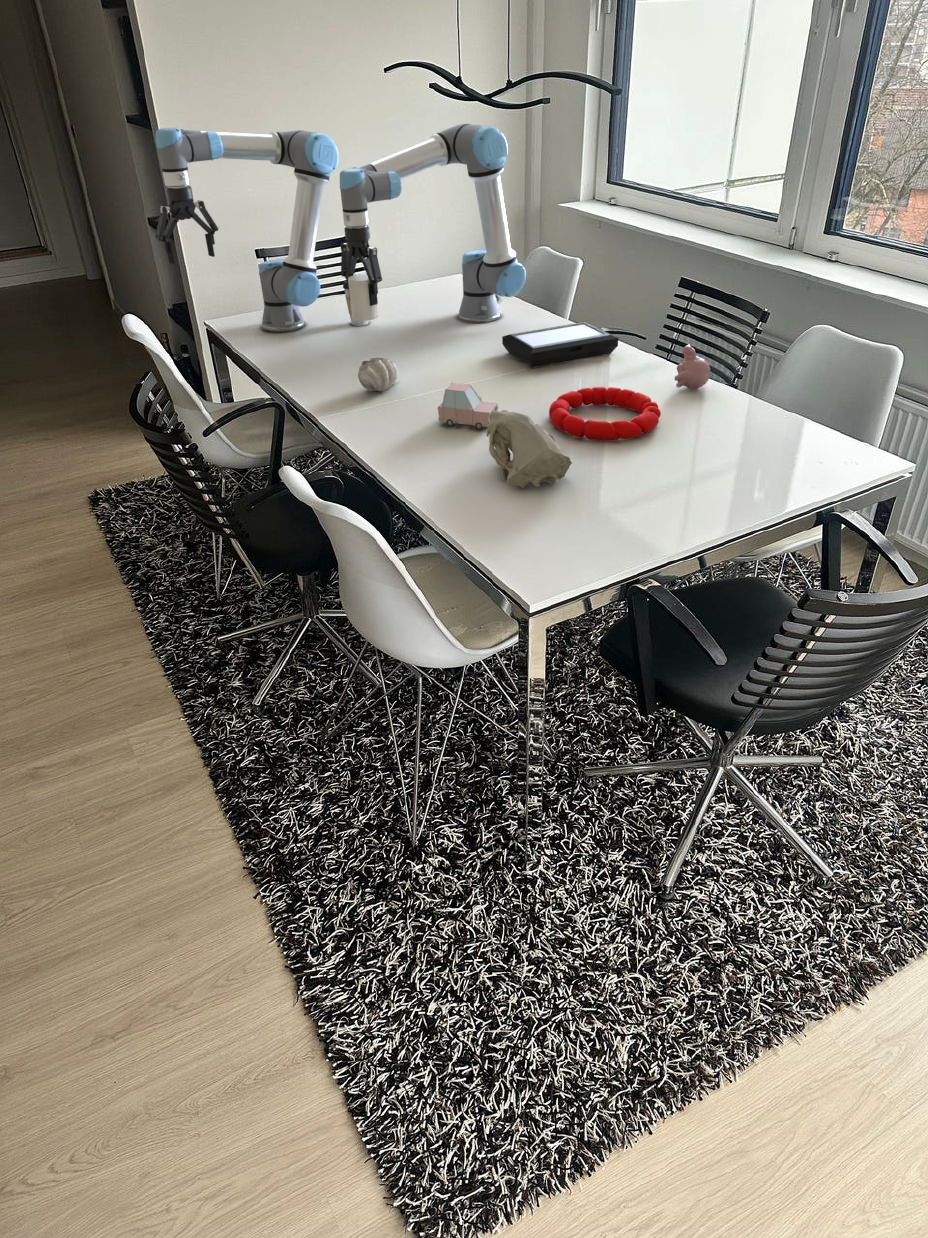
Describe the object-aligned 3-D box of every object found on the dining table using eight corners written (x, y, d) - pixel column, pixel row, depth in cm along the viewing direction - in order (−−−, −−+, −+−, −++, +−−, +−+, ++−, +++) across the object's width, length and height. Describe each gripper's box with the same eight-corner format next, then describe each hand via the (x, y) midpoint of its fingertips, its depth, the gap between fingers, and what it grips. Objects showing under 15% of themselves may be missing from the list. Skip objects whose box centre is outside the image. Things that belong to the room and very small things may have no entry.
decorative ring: (589, 435, 224) (684, 402, 234) (527, 398, 247) (617, 369, 256) (589, 461, 229) (683, 427, 238) (529, 422, 251) (617, 393, 260)
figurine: (665, 387, 264) (669, 347, 257) (693, 380, 268) (698, 340, 261) (686, 396, 257) (690, 355, 250) (714, 388, 262) (720, 348, 255)
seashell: (350, 390, 269) (347, 357, 264) (395, 380, 275) (392, 348, 270) (364, 400, 262) (360, 367, 256) (409, 390, 268) (407, 357, 262)
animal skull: (496, 517, 219) (521, 479, 201) (463, 429, 225) (484, 384, 207) (557, 503, 225) (586, 465, 206) (523, 417, 231) (549, 373, 212)
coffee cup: (372, 326, 323) (368, 283, 314) (345, 327, 323) (340, 284, 315) (374, 318, 331) (371, 276, 322) (348, 319, 331) (344, 277, 323)
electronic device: (530, 350, 276) (502, 333, 291) (530, 370, 279) (502, 352, 294) (618, 335, 286) (586, 319, 301) (617, 354, 290) (585, 338, 305)
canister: (346, 318, 284) (342, 279, 277) (361, 311, 290) (357, 272, 283) (369, 321, 281) (365, 281, 274) (383, 314, 287) (379, 275, 280)
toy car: (488, 432, 240) (488, 396, 234) (436, 426, 244) (434, 390, 239) (499, 419, 247) (499, 384, 241) (448, 413, 252) (447, 379, 246)
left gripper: (144, 192, 261) (160, 268, 273) (221, 181, 274) (233, 254, 286) (134, 190, 266) (150, 264, 278) (209, 179, 279) (222, 251, 291)
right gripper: (323, 224, 273) (332, 300, 286) (372, 231, 262) (379, 310, 275) (341, 220, 278) (348, 294, 291) (390, 227, 267) (396, 304, 279)
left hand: (192, 259), depth 282 cm, fingers open, 13 cm apart
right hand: (363, 302), depth 283 cm, fingers closed on canister, 8 cm apart
